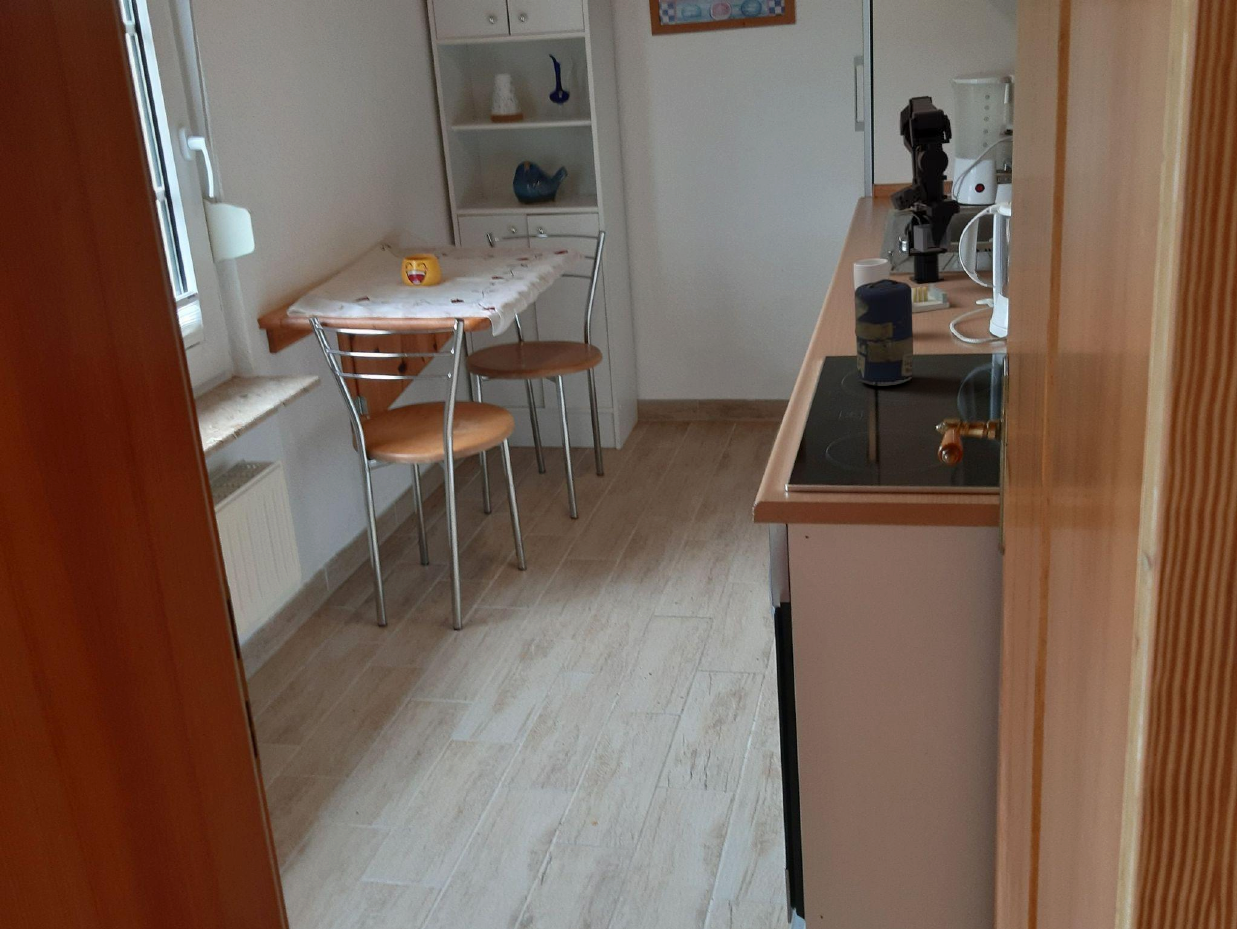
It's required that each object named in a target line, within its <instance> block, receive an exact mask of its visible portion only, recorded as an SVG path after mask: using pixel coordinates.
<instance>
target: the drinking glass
mask: <svg viewBox="0 0 1237 929" xmlns="http://www.w3.org/2000/svg"><path fill="white" fill-rule="evenodd" d="M889 264H890V262H889V260H888V259H886V258H868V259H860V260H857V261H855V262H854V263H853V284H854V285H853V286H854V292H855V291H856V289H857V288H858V287H859V286H861V285H864V284H867V283H872V282H877V281H879V280H882V279H890V280H891V278H890V265H889Z"/></svg>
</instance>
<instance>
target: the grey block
mask: <svg viewBox="0 0 1237 929" xmlns="http://www.w3.org/2000/svg"><path fill="white" fill-rule="evenodd" d="M951 232H952V231H951V225H950V224H948V227H947V229H946V231H945V233H944V236H943V238H942V240H941V243H940V245H939V246H940V248H941V247H943V248H946V249H947V250H950V249H951V248H952V246H951V245H952V241H951V240H952V236H951V234H952V233H951ZM928 247H936V246H934V243H933V238H932V232H931V226H930V224H925V225H917V226H914V249H917V250H919V251H922V252H927V248H928Z"/></svg>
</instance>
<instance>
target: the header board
mask: <svg viewBox="0 0 1237 929" xmlns="http://www.w3.org/2000/svg"><path fill="white" fill-rule="evenodd" d="M911 290H912V314H913V313H922V312H928V311H935V310H936V311H937V310H943V309H944V310H945V309H950V302H949V301H948V293H947V292H946V291H944V290H942V289H940V288H938V287H936V286H935V283H930V284H929V289H928V286H923V287H922V286H918V287H911Z"/></svg>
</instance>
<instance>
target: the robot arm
mask: <svg viewBox="0 0 1237 929" xmlns="http://www.w3.org/2000/svg"><path fill="white" fill-rule="evenodd" d="M899 135H900V136H901V137H902V140H903V146H904V147H905V148H906V149H907V151H908V152H909V153H910V155H911V157H910V159H911V170H912V172H911V173H912V179H911V185H909V186H906V187H903V188H901V189H900V190H897V191H895V192H894V193H892V194H891V195H889V197H890V201H891V202H892V205H893V207H894V210H897V211H899V212H902V211H905V210H906V209H907V210H908V209H909V210H908V212H909V213H910V214H911V215H912V217H911V219H910V221H909V222H910V223H909V228H908V230H906V242H905V243H906V244H905V246H906V254H907V257H912V259H913V261H912V262H913V276H908V278H909V280H911V281H912V282H914V283H916V284H921V283H930V282H937V281H943V280H945V277H944V276H941V275H940V262H939V261H940V258H939V254H942V255H944V254H946V253H947V252H948V249H946V248H943V247H940V246H939V245H940V243H941V240H942V238H943V236H944V233H945V231H946V229H947V227H948V225H950V222H951V220H952V218H953V216H955V215H956V214H957V215H958V214H960V213H961V204H960V202H959V201H958V200H955V199H952V198H948V194H946V193H945V181H948V175H947V174H945V172H946V170H947V168H948V166H949V161H950V160H949V157H948V154H947V152H945V151H944V148H943V145H944V144H950V143H951V140H952V138H953V132H952V127H951V120H950V119H949V115H948V114H945V112H944V110H943V109H942V108H937V107H936V106H935V105H934V104H933V98H932V96H929V95H923V96H915V97H911V98H908V104H907V105H906V106H905V107H904V108H903V110H901V111H900V113H899ZM911 207H912V208H911ZM925 224H930V226H931V232H932V238H933V243H934V246H936V247H928V248H927V252H922V251H919V250H917V249H914V226H917V225H925Z"/></svg>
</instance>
